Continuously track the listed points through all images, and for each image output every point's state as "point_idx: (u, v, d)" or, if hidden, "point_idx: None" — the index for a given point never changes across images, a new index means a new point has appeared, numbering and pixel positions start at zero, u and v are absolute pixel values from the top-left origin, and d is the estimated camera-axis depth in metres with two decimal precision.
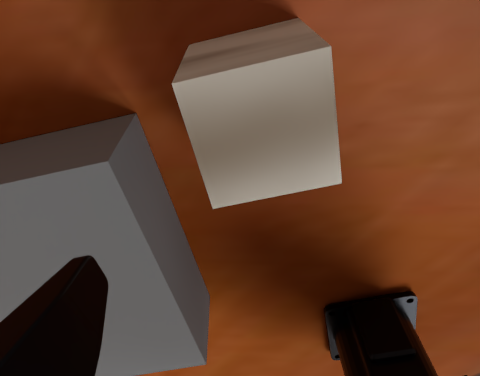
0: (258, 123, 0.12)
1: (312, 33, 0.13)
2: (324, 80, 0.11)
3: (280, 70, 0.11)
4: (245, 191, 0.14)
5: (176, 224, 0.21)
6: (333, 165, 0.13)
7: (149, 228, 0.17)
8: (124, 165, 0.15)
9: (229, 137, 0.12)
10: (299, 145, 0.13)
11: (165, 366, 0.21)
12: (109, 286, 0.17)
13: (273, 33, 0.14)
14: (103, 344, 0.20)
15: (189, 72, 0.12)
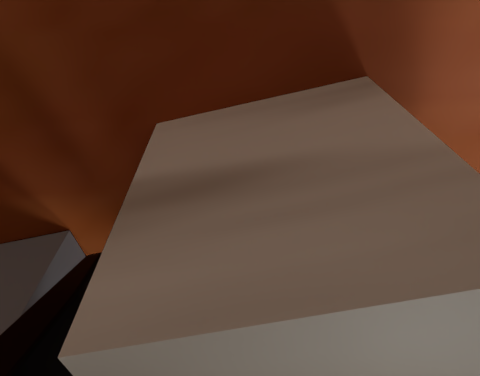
0: None
1: (446, 153, 0.05)
2: None
3: (401, 324, 0.03)
4: None
5: None
6: None
7: None
8: None
9: None
10: None
11: None
12: None
13: (330, 125, 0.06)
14: None
15: (125, 282, 0.04)
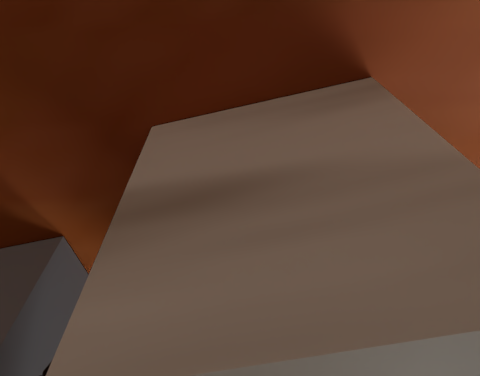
0: None
1: (462, 164, 0.05)
2: None
3: (422, 363, 0.03)
4: None
5: None
6: None
7: None
8: None
9: None
10: None
11: None
12: None
13: (335, 131, 0.06)
14: None
15: (114, 308, 0.04)
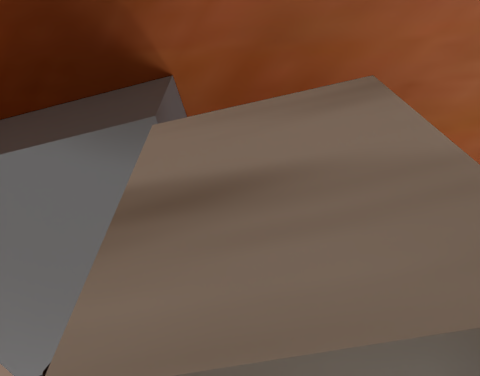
0: None
1: (465, 161, 0.05)
2: None
3: (424, 359, 0.03)
4: None
5: None
6: None
7: None
8: None
9: None
10: None
11: None
12: None
13: (336, 129, 0.06)
14: None
15: (115, 305, 0.04)
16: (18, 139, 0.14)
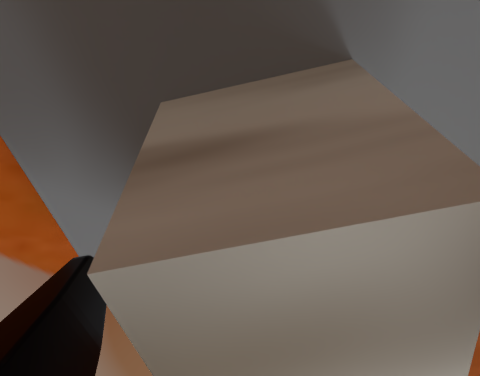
0: (299, 335, 0.05)
1: (414, 118, 0.06)
2: (473, 262, 0.04)
3: (368, 244, 0.04)
4: None
5: None
6: None
7: None
8: None
9: (234, 357, 0.05)
10: (387, 366, 0.06)
11: None
12: None
13: (317, 99, 0.07)
14: None
15: (140, 221, 0.05)
16: None
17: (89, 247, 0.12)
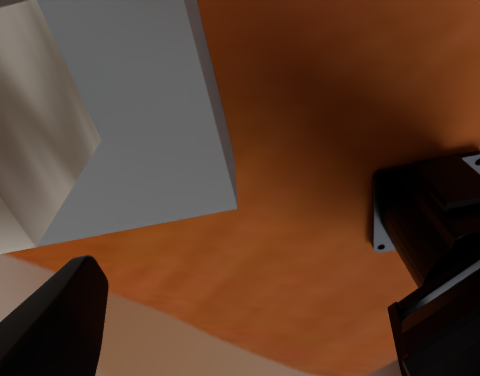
0: None
1: None
2: None
3: None
4: None
5: (200, 20, 0.16)
6: (8, 223, 0.09)
7: None
8: None
9: None
10: None
11: (184, 211, 0.16)
12: (113, 51, 0.12)
13: None
14: (102, 168, 0.15)
15: None
16: None
17: None
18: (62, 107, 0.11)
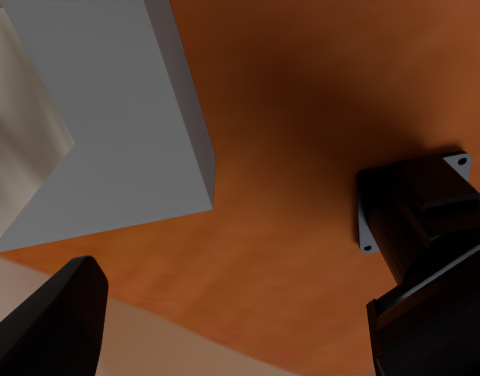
0: None
1: None
2: None
3: None
4: None
5: (174, 25, 0.16)
6: None
7: None
8: None
9: None
10: None
11: (160, 212, 0.16)
12: (80, 56, 0.13)
13: None
14: (77, 170, 0.15)
15: None
16: None
17: None
18: (30, 111, 0.12)
